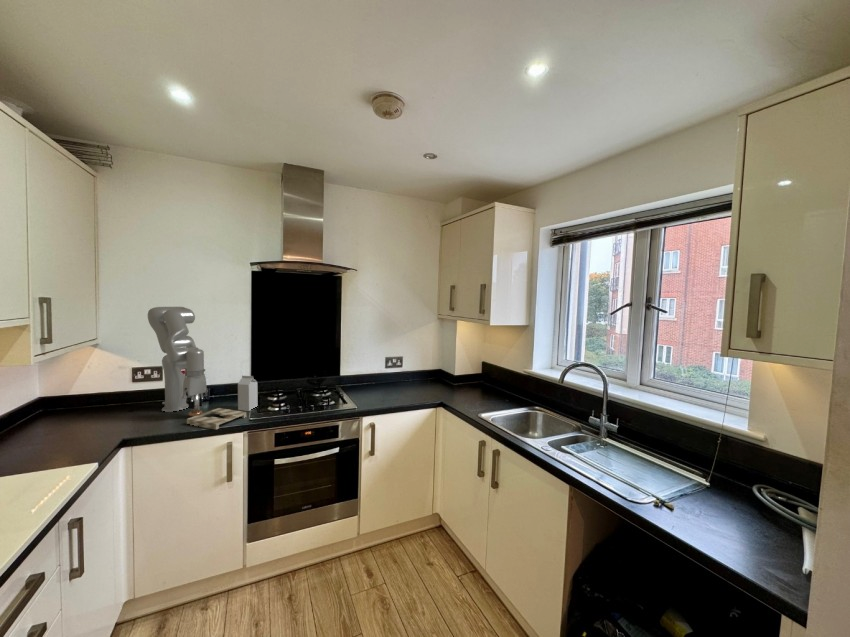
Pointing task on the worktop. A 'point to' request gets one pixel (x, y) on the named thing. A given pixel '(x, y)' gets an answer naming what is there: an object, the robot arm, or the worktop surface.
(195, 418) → the keyhole plate
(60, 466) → the worktop surface
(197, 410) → the peg
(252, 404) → the milk carton
